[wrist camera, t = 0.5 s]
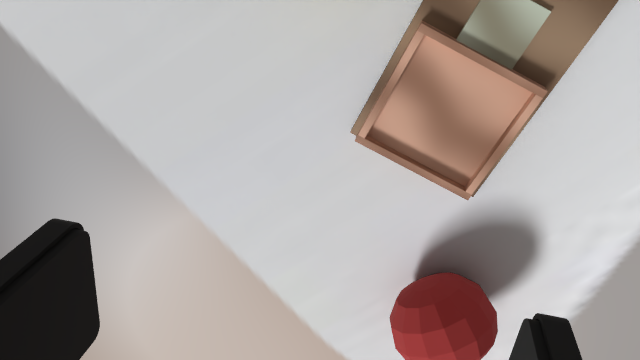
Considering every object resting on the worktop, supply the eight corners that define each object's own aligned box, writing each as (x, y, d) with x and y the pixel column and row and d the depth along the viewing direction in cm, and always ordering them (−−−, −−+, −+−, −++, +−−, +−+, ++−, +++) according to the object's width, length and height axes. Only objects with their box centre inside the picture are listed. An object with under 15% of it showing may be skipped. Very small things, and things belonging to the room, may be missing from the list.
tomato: (411, 323, 34) (453, 422, 36) (501, 266, 37) (537, 360, 38) (359, 296, 42) (395, 379, 43) (437, 250, 44) (469, 329, 46)
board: (506, -151, 30) (510, -154, 28) (661, -64, 30) (672, -63, 29) (351, 129, 39) (348, 137, 37) (472, 193, 39) (473, 203, 38)
